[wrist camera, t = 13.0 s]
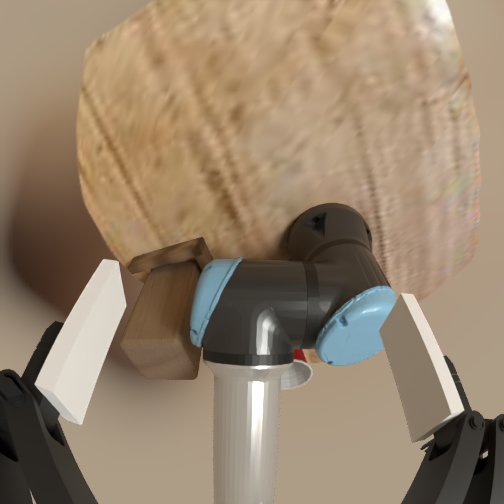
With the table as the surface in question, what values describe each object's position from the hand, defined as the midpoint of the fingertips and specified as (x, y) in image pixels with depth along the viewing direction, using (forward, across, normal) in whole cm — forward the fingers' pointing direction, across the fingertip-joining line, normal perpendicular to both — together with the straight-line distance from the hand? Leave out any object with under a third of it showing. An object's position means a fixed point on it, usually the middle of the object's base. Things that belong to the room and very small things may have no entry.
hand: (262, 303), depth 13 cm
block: (+34, +11, +29) cm, 46 cm away
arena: (+34, +11, +29) cm, 46 cm away
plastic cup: (+34, -12, +42) cm, 56 cm away
